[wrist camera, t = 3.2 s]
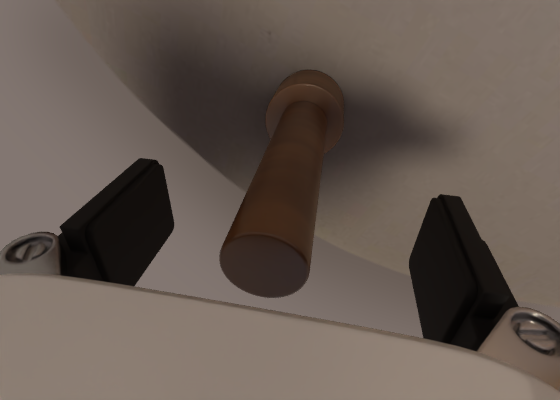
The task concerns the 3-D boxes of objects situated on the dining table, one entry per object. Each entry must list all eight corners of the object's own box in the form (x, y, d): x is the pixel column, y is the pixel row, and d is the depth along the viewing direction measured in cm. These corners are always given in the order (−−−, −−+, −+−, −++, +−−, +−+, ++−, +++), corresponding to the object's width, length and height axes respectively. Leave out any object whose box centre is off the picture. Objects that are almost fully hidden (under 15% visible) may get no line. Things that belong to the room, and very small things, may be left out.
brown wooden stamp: (260, 101, 21) (158, 253, 9) (313, 53, 19) (263, 173, 7) (304, 150, 22) (262, 333, 11) (358, 110, 20) (375, 285, 9)
